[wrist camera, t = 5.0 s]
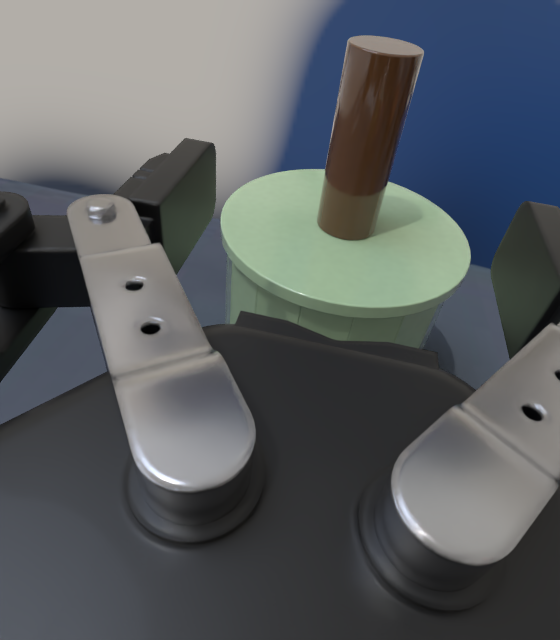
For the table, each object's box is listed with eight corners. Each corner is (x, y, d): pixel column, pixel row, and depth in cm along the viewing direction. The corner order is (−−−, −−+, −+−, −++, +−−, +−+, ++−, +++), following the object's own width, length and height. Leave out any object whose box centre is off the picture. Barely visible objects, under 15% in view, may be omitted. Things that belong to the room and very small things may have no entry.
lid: (451, 212, 25) (521, 37, 19) (473, 358, 17) (605, 130, 11) (254, 175, 25) (265, -3, 20) (183, 295, 17) (169, 55, 12)
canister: (398, 332, 30) (448, 204, 24) (396, 469, 23) (467, 337, 16) (250, 301, 31) (259, 168, 25) (201, 423, 24) (196, 279, 17)
